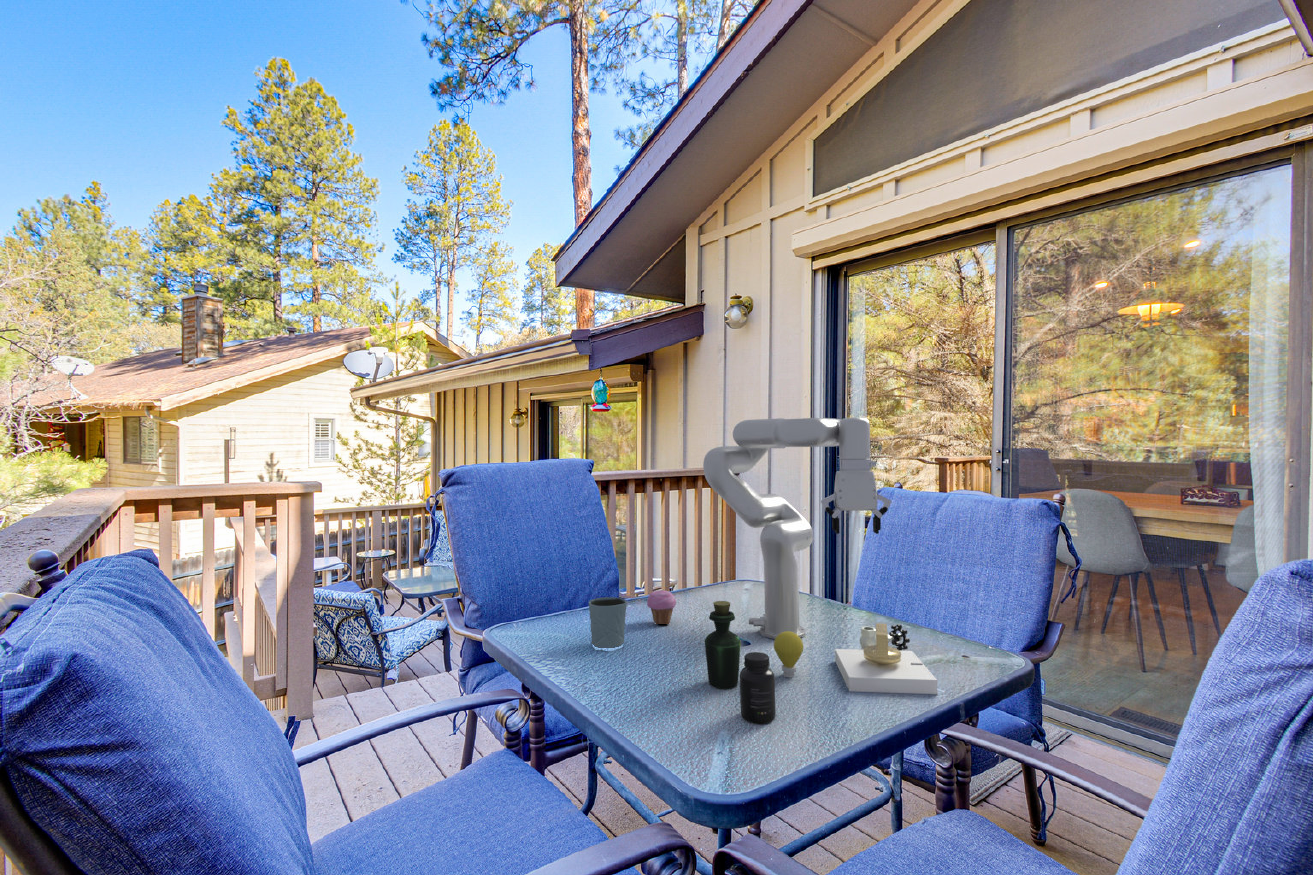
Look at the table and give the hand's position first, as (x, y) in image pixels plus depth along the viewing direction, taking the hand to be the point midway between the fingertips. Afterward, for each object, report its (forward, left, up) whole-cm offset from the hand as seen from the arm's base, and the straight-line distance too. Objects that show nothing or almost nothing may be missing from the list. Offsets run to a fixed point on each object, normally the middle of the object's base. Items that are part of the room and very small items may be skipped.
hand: (856, 533), depth 154 cm
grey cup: (-65, 0, -31) cm, 72 cm away
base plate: (+2, -16, -30) cm, 34 cm away
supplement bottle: (-27, -39, -31) cm, 56 cm away
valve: (+6, 0, -31) cm, 31 cm away
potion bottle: (-34, -23, -31) cm, 51 cm away
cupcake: (-53, +21, -31) cm, 65 cm away
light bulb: (-19, -17, -31) cm, 40 cm away
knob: (+2, -15, -27) cm, 31 cm away
